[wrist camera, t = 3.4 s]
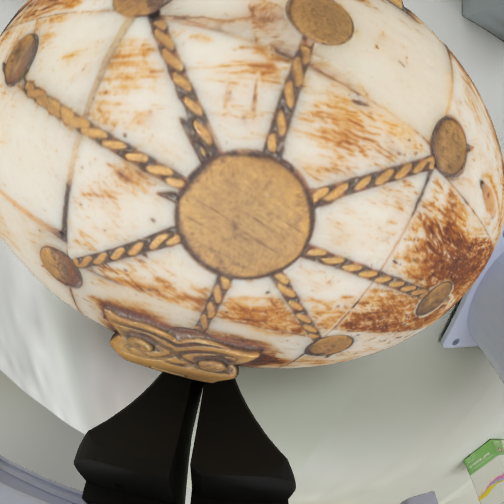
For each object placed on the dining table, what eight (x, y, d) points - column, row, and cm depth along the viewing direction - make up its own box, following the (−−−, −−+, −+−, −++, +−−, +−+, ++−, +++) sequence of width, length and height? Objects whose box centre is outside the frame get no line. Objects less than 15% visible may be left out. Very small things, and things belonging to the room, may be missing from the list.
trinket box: (39, 53, 9) (-104, 54, 2) (385, -32, 8) (497, -110, 1) (126, 315, 15) (68, 446, 8) (426, 256, 13) (522, 371, 6)
